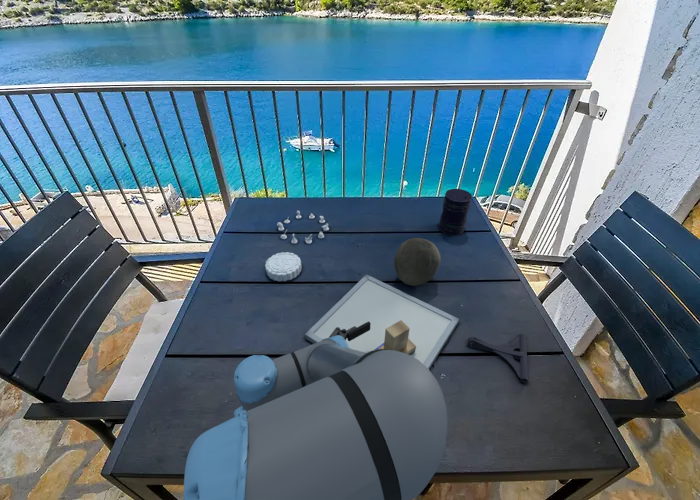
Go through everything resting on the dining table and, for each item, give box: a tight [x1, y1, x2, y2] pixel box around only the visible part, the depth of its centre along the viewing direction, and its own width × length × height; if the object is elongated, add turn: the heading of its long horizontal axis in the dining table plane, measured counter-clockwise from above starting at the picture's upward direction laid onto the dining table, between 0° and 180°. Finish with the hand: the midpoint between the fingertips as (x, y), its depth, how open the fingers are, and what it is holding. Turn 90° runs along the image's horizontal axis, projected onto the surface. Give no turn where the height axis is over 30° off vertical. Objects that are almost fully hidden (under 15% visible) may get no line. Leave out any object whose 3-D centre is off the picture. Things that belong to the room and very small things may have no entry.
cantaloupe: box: [393, 237, 442, 287], centre depth 110 cm, size 14×14×15 cm
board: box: [304, 274, 460, 370], centre depth 98 cm, size 30×32×2 cm
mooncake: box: [264, 251, 302, 282], centre depth 118 cm, size 12×12×4 cm
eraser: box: [376, 320, 416, 355], centre depth 87 cm, size 10×5×10 cm, turn 124°
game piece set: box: [276, 210, 330, 245], centre depth 136 cm, size 19×20×4 cm
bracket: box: [467, 333, 529, 383], centre depth 92 cm, size 14×15×3 cm
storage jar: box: [438, 188, 473, 236], centre depth 133 cm, size 10×10×15 cm
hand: (386, 344), depth 84 cm, fingers open, 13 cm apart
